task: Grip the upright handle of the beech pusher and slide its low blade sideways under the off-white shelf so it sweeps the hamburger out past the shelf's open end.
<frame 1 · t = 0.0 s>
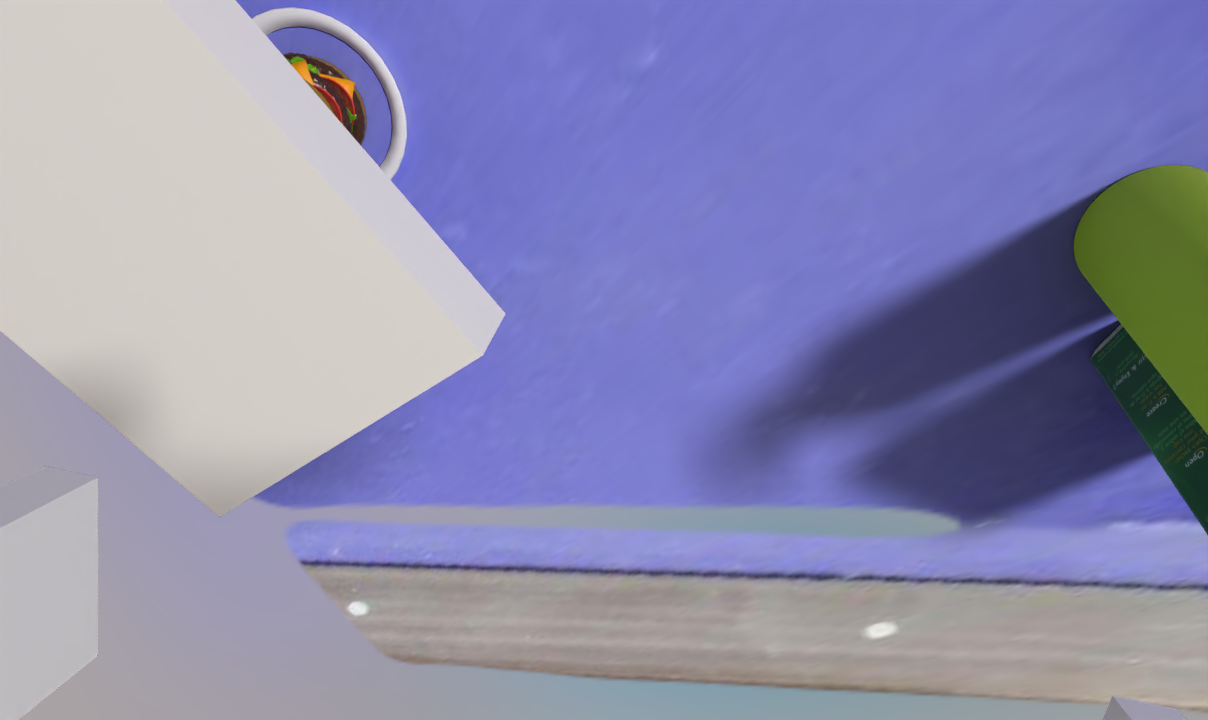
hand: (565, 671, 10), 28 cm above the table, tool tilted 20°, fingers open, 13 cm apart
hamburger: (325, 105, 37), on the table
coffee box: (1178, 369, 36), on the table
soap dispenser: (1147, 241, 33), on the table
shelf: (267, 108, 37), on the table
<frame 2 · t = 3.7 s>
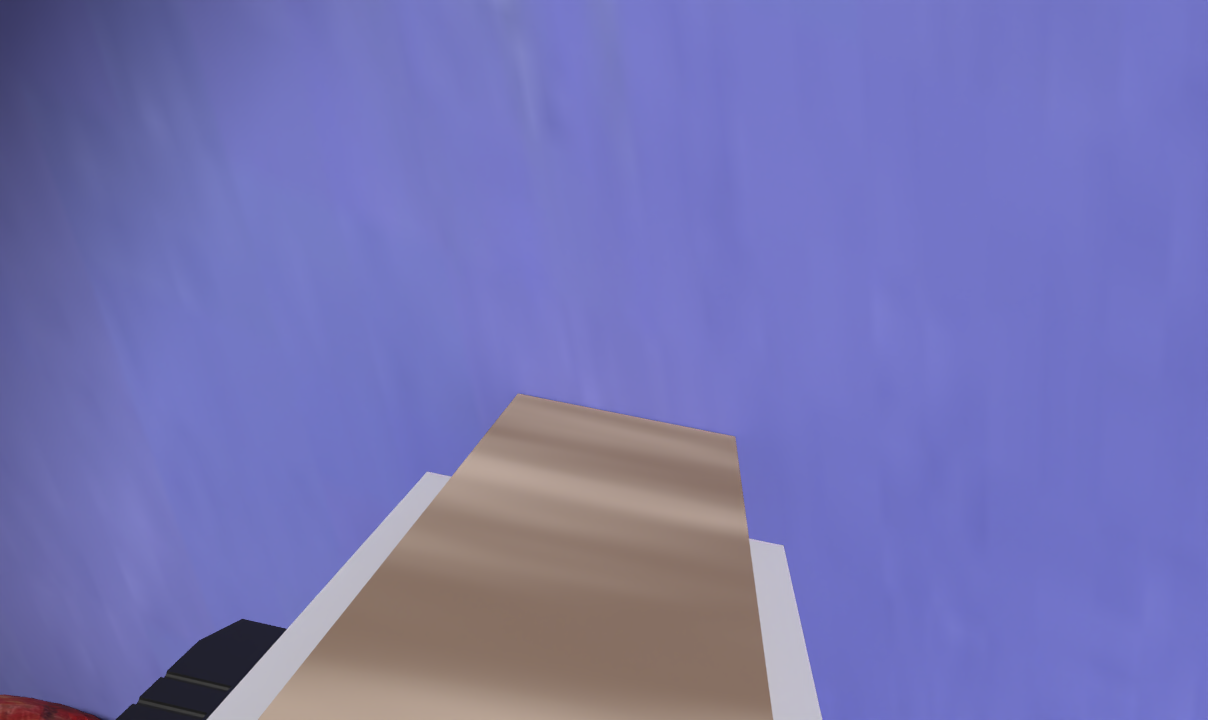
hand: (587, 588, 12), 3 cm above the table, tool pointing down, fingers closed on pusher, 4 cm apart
pusher: (607, 514, 15), on the table, touching gripper
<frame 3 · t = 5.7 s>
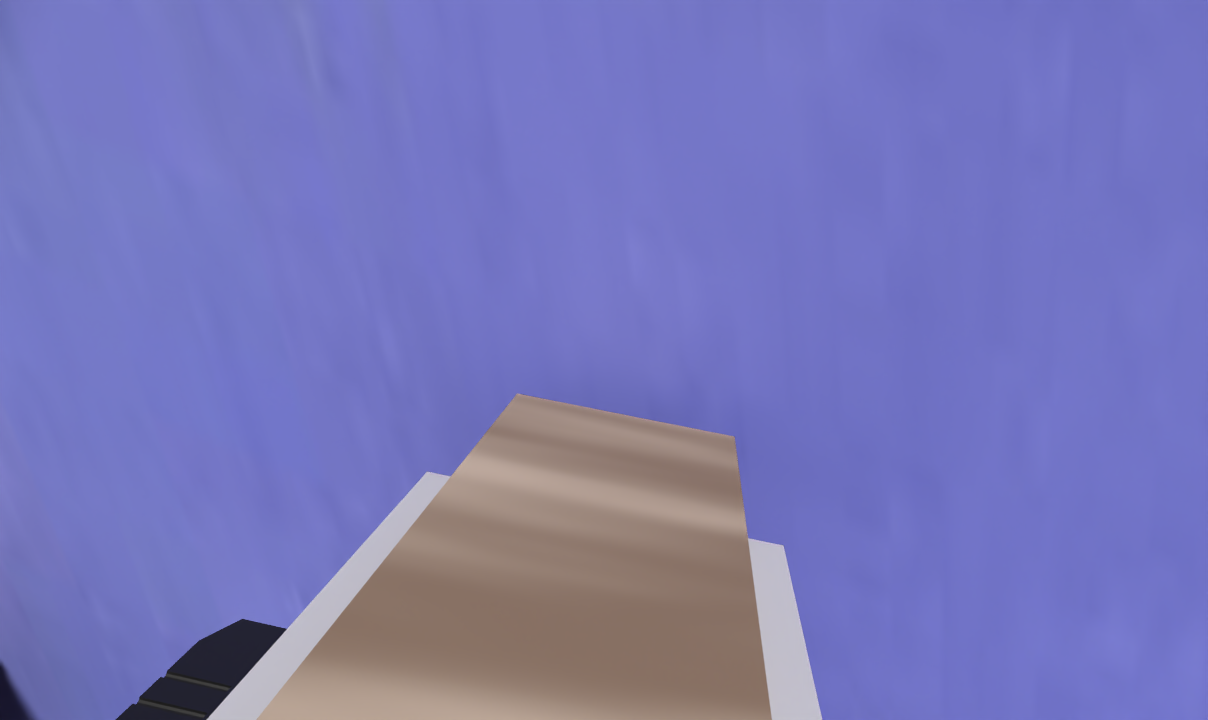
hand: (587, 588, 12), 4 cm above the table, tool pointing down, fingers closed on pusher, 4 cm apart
pusher: (606, 514, 15), point 1 cm above the table, touching gripper
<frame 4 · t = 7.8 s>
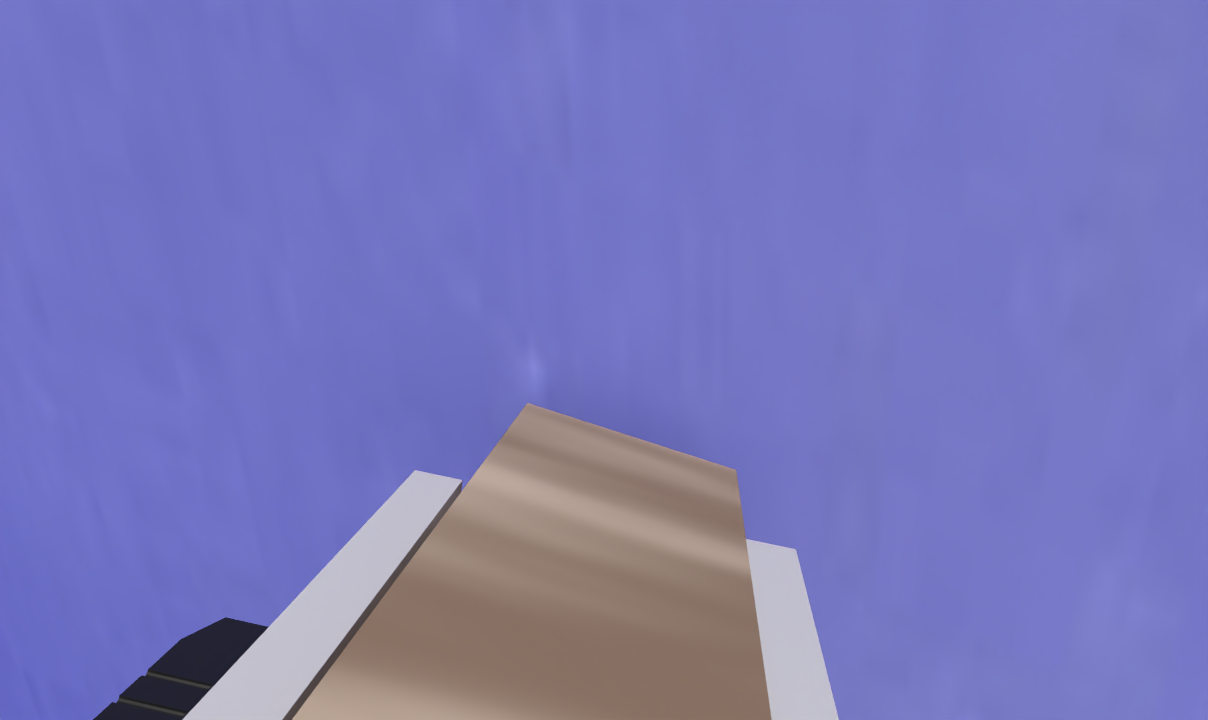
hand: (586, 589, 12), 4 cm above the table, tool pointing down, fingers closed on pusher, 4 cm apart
pusher: (600, 531, 15), point 1 cm above the table, touching gripper
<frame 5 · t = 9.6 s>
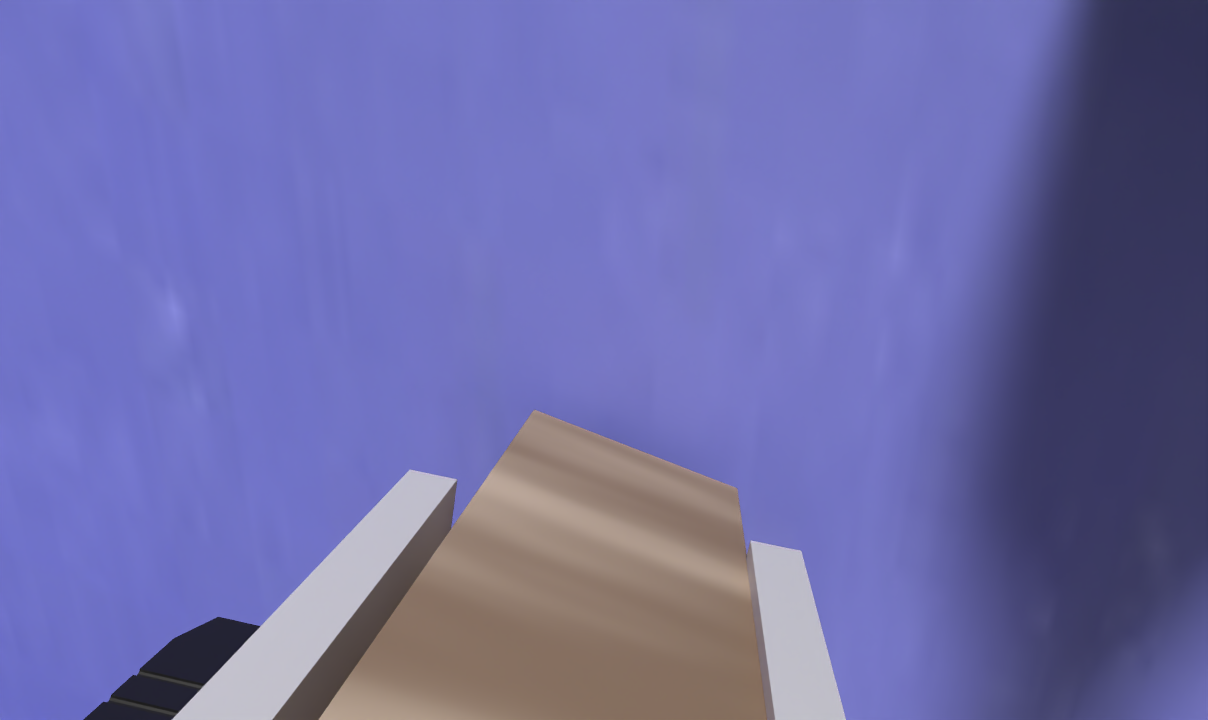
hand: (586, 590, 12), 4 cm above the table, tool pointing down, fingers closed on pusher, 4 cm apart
pusher: (598, 541, 15), point 1 cm above the table, touching gripper, hamburger
when the fingers open (3 cm above the table, at t = 11.0 s): pusher stays where it is, on the table.
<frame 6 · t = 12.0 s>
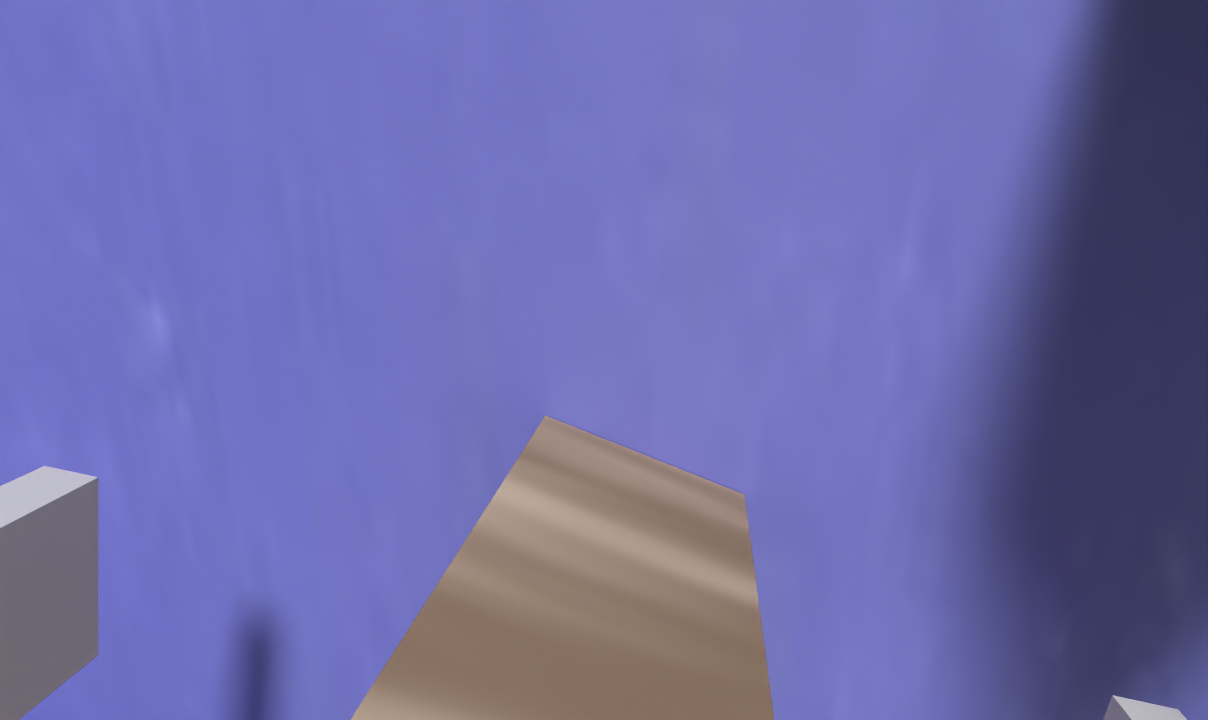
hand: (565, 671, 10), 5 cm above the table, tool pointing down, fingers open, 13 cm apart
pusher: (607, 544, 15), on the table
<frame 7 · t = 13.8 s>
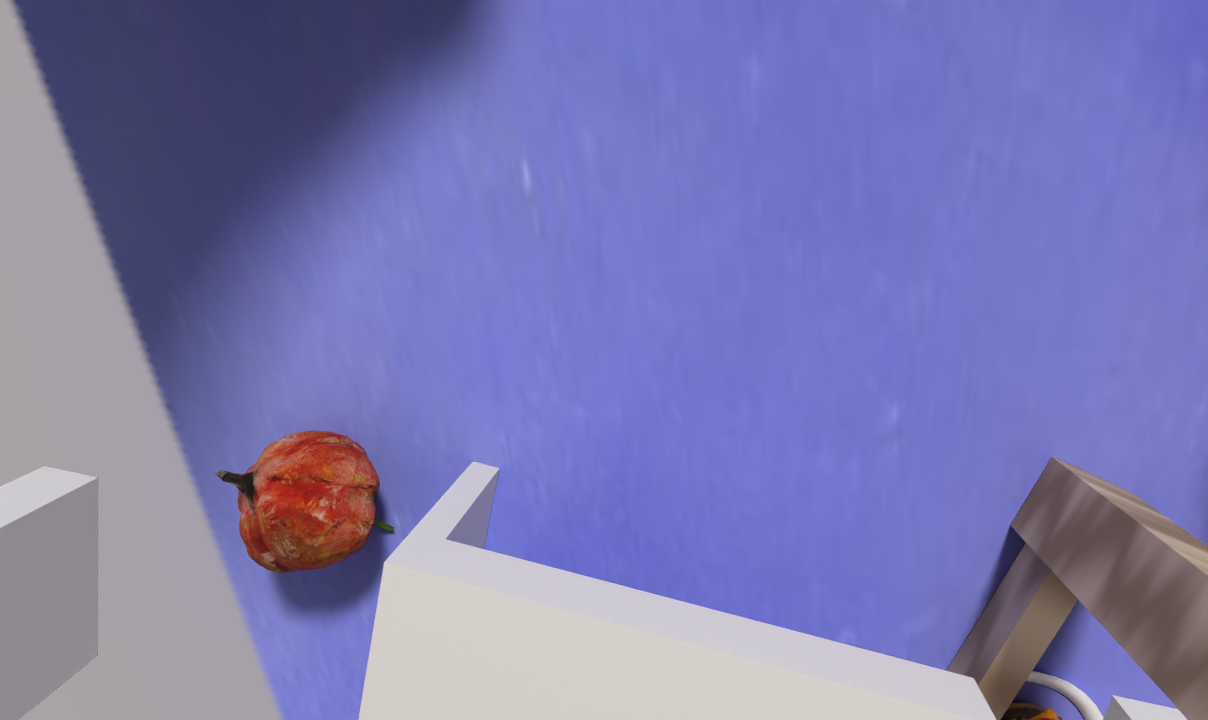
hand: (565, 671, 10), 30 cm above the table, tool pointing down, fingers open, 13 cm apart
pusher: (1068, 508, 39), on the table
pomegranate: (345, 478, 44), on the table
shelf: (655, 647, 43), on the table
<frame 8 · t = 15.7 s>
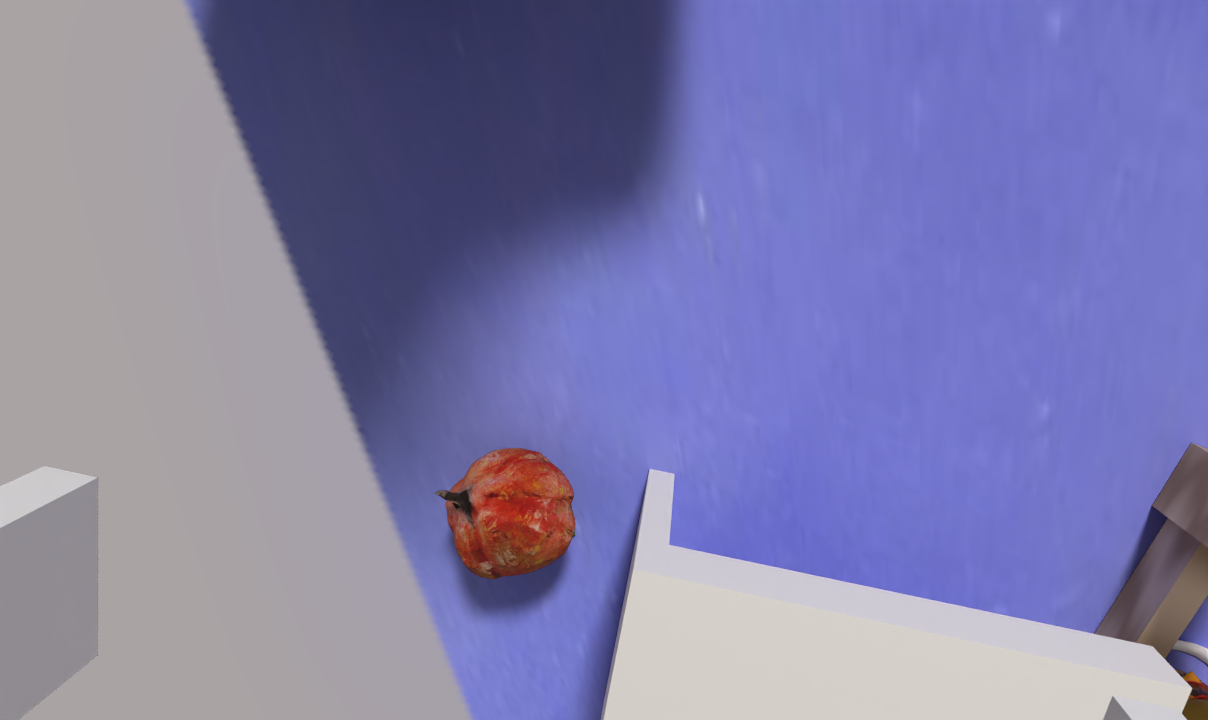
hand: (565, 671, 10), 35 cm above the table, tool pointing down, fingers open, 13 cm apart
pusher: (1206, 488, 43), on the table
hamburger: (1146, 693, 47), on the table
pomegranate: (528, 489, 48), on the table
shelf: (820, 629, 47), on the table
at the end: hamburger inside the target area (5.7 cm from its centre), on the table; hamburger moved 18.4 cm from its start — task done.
